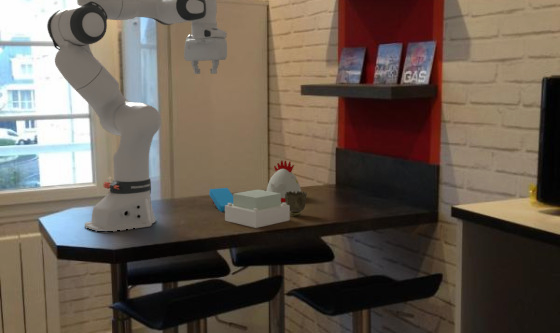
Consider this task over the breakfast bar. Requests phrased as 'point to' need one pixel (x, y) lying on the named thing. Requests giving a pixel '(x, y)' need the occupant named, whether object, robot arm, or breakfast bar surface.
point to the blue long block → (221, 197)
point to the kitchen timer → (283, 180)
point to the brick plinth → (257, 209)
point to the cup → (296, 202)
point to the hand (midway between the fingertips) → (205, 73)
